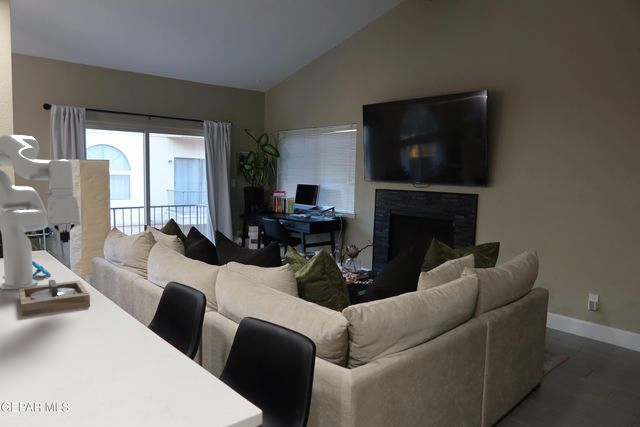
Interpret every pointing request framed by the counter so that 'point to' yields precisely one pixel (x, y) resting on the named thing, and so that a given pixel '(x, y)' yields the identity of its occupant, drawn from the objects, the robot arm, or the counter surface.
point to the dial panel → (53, 299)
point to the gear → (40, 269)
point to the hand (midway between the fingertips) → (65, 242)
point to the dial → (52, 291)
